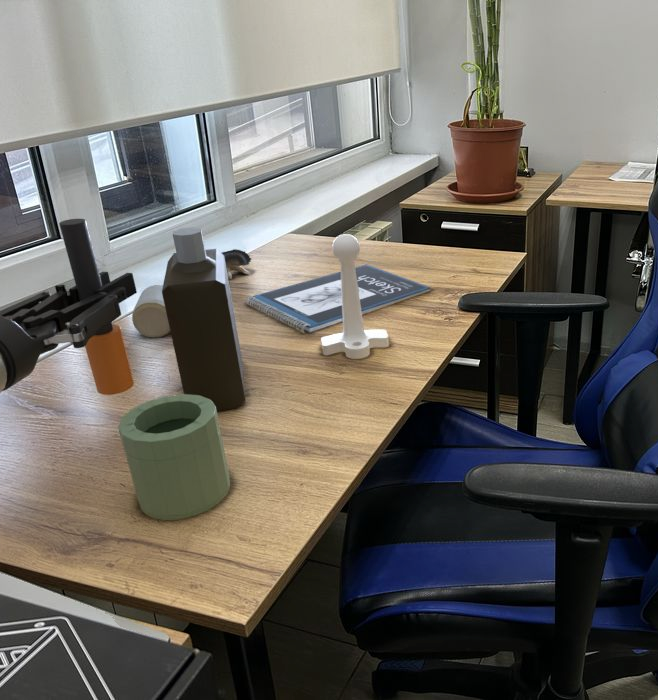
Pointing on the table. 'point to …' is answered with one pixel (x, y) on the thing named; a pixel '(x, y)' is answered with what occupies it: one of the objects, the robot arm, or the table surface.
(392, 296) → the sketchbook
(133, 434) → the sage green tumbler
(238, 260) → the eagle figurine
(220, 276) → the bottle
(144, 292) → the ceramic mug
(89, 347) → the brush
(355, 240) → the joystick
